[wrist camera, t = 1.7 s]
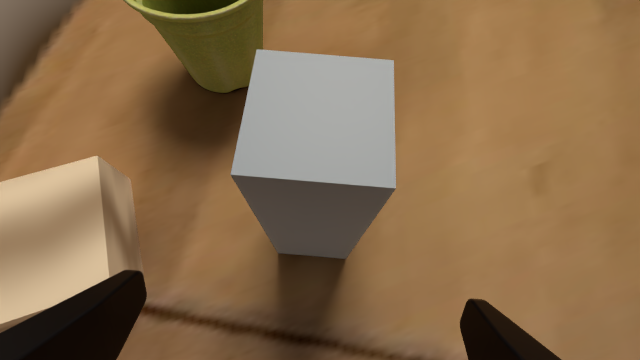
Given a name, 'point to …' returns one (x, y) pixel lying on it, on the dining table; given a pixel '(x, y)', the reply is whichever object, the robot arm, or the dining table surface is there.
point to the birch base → (63, 235)
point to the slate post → (317, 149)
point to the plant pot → (210, 37)
